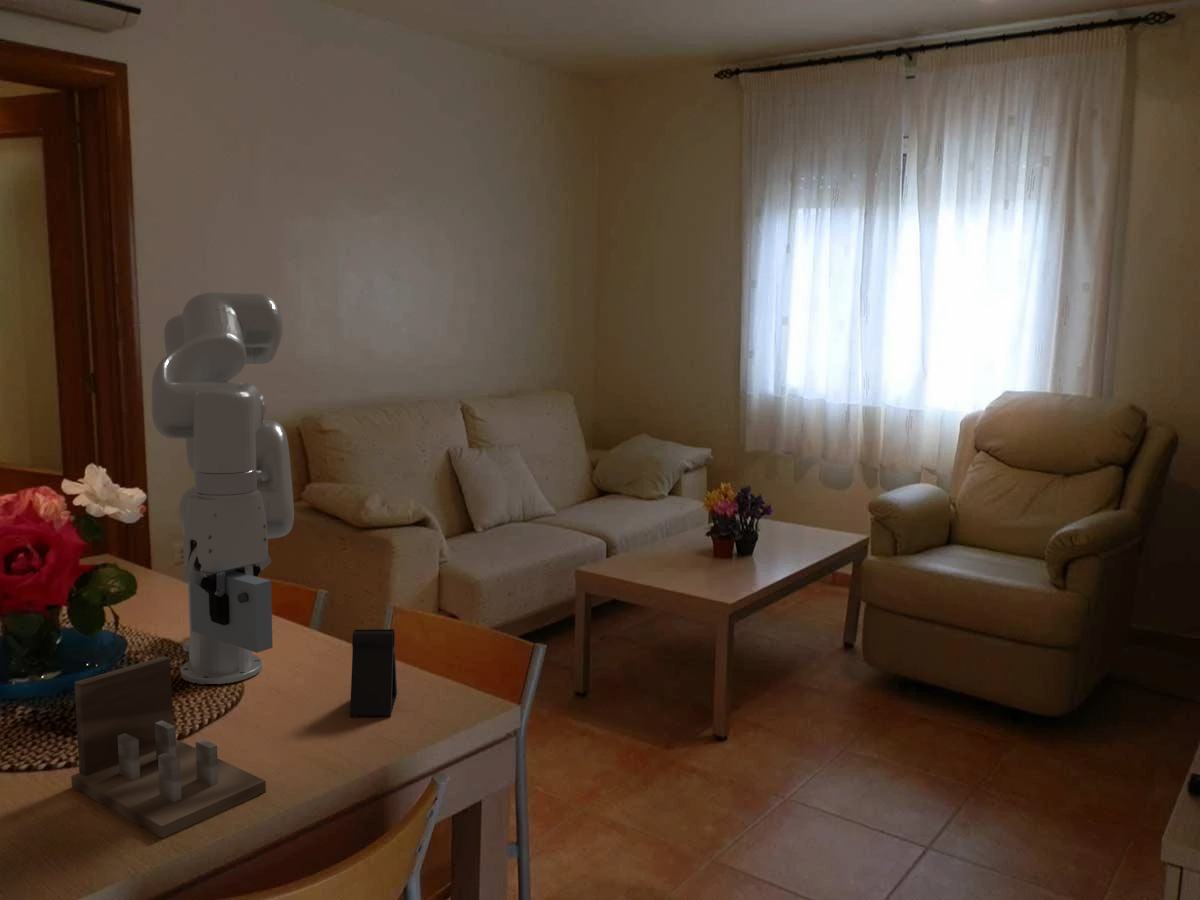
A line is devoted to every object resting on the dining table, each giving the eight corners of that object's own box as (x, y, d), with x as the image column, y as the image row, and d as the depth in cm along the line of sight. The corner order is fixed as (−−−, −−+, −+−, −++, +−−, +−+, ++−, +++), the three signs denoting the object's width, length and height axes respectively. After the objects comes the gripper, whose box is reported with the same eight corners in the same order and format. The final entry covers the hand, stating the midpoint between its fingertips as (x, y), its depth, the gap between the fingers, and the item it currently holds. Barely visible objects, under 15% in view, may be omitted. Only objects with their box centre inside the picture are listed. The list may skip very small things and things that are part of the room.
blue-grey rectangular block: (186, 632, 135) (184, 567, 134) (207, 626, 138) (205, 563, 136) (251, 654, 127) (249, 585, 126) (272, 647, 130) (271, 580, 129)
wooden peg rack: (71, 786, 126) (66, 684, 124) (174, 748, 137) (170, 654, 135) (162, 838, 114) (157, 726, 112) (265, 791, 126) (263, 689, 124)
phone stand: (390, 717, 149) (390, 640, 147) (349, 718, 149) (348, 640, 147) (397, 694, 158) (397, 621, 156) (359, 694, 157) (358, 621, 156)
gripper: (259, 472, 139) (263, 601, 141) (151, 488, 125) (157, 629, 128) (295, 478, 134) (298, 611, 137) (187, 495, 121) (192, 641, 124)
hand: (230, 618), depth 132 cm, fingers closed on blue-grey rectangular block, 2 cm apart
